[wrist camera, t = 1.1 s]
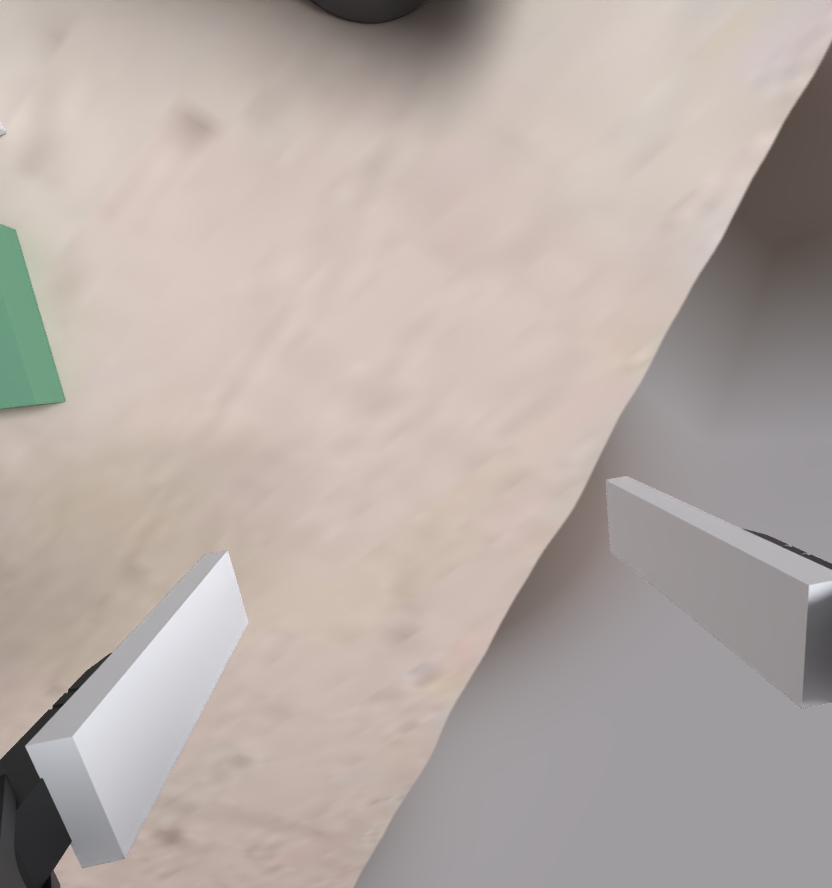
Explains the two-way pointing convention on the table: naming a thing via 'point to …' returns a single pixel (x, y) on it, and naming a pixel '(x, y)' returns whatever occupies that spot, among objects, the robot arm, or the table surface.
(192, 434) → the table surface
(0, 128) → the ink box
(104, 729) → the robot arm
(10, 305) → the putting deck
